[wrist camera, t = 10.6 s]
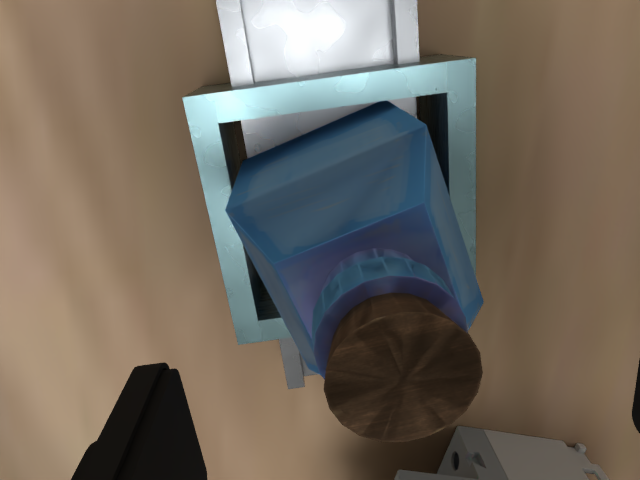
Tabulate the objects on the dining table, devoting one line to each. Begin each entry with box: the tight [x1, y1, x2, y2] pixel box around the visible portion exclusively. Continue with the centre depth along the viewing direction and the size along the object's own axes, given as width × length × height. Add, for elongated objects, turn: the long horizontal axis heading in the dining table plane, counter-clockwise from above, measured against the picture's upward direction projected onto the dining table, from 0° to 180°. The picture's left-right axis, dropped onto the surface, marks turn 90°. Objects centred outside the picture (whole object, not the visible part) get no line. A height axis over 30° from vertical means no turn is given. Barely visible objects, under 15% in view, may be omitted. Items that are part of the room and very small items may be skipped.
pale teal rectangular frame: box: [182, 0, 476, 389], centre depth 20 cm, size 10×18×4 cm, turn 7°
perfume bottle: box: [225, 101, 484, 442], centre depth 15 cm, size 6×6×12 cm
